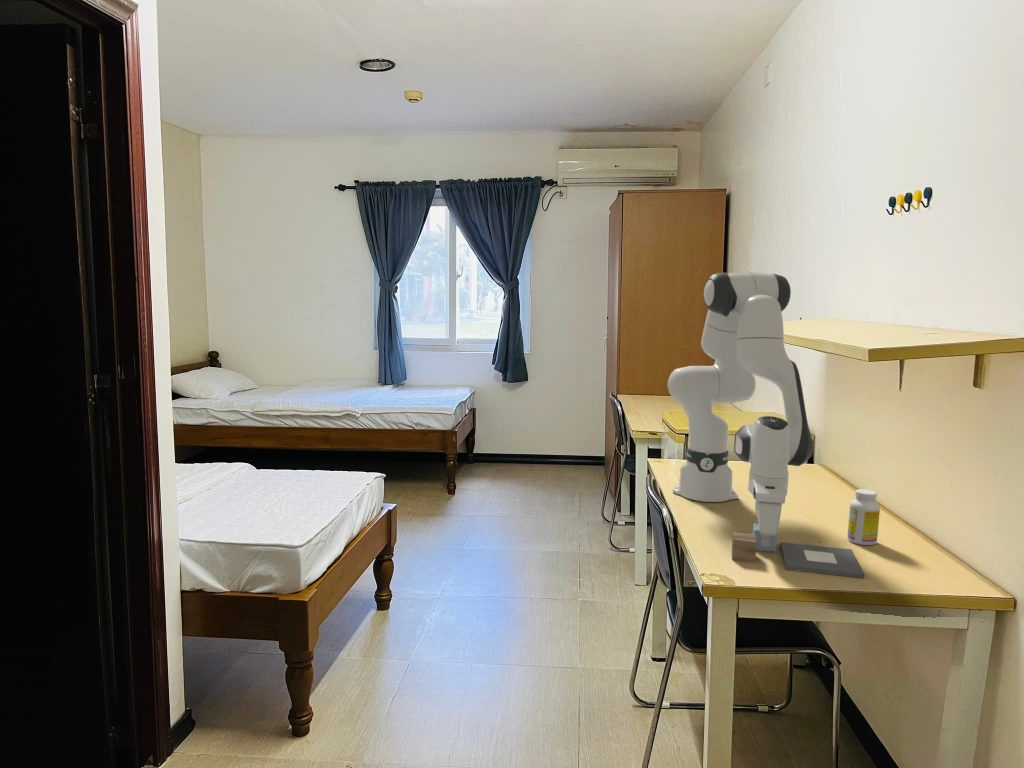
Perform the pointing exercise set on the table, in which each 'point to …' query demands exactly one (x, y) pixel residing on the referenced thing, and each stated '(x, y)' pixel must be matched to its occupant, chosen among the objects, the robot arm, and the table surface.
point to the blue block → (758, 540)
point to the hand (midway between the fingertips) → (763, 540)
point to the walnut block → (743, 547)
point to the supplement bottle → (864, 518)
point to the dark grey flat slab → (821, 559)
